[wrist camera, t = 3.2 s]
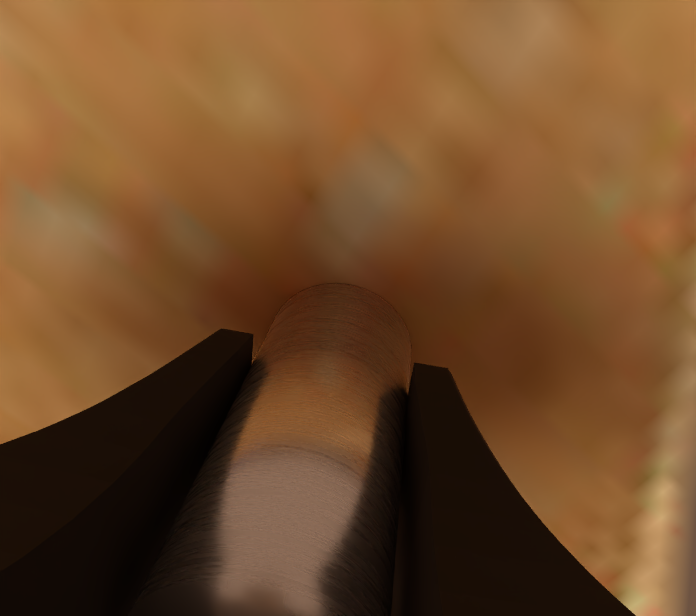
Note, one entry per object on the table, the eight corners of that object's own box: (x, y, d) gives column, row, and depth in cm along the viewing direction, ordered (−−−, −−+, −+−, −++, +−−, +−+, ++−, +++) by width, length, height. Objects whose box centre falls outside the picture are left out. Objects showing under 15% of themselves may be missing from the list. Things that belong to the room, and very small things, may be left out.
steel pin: (398, 417, 14) (364, 771, 7) (266, 392, 14) (126, 719, 8) (423, 297, 12) (407, 612, 6) (274, 272, 12) (113, 554, 6)
